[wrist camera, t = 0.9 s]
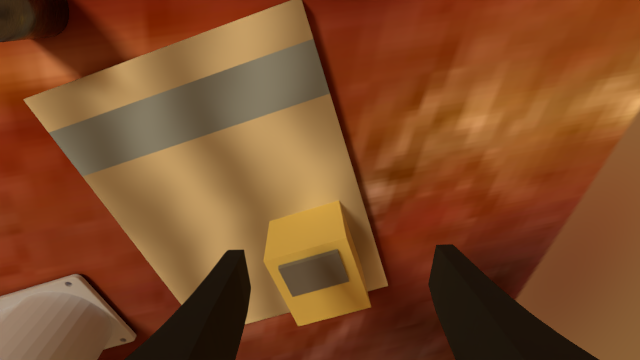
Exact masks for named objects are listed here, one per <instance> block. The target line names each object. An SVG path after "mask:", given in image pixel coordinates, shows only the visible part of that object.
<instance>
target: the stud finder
mask: <svg viewBox="0 0 640 360" xmlns="http://www.w3.org/2000/svg"><path fill="white" fill-rule="evenodd" d="M263 262H264V264H265V265H266V267H267V269H268V271H269V273H270V275H271V277H272V278H273V280H274V282H275V284H276V286H277V288H278V290H279V291H280V293H281V295H282V297H283V299H284V301H285V303H286V304H287V306H288V308H289V310H290V312H291V314H292V316H293V317H294V319H295V321H296V323H297V325H298V326H301V325H305V324H309V323H313V322H317V321H320V320H324V319H328V318H332V317H336V316H339V315H343V314H347V313H351V312H355V311H358V310H362V309H366V308H370V307H371V305H370V300H369V296H368V292H367V288H366V283H365V279H364V275H363V271H362V266H361V263H360V260H359V257H358V254H357V251H356V248H355V245H354V243H353V240H352V237H351V234H350V231H349V228H348V225H347V222H346V219H345V216H344V214H343V211H342V208H341V205H340V202H339V201H335V202H332V203H329V204H325V205H322V206H319V207H315V208H312V209H309V210H305V211H302V212H299V213H295V214H292V215H289V216H285V217H282V218H279V219H275V220H272V221H269V228H268V234H267V241H266V247H265V254H264V261H263Z"/></svg>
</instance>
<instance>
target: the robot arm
mask: <svg viewBox="0 0 640 360" xmlns="http://www.w3.org/2000/svg"><path fill="white" fill-rule="evenodd" d="M429 288H430V292H431V296H432V299H433V303H434V306H435V310H436V312H437V315H438V318H439V320H440V322H441V325H442V327H443V330H444V332H445V335H446V337H447V340H448V342H449V345H450V347H451V349H452V352H453V354H454V357H455V359H456V360H599V359H597V358H596V357H594V356H592V355H591V354H589V353H588V352H586V351H585V350H583V349H581V348H580V347H578V346H577V345H575V344H574V343H572V342H570V341H569V340H568V339H566V338H565V337H563V336H562V335H560V334H559V333H557V332H556V331H554V330H553V329H552V328H550V327H549V326H548V325H546V324H545V323H543V322H542V321H541V320H539V319H538V318H536V317H535V316H534V315H532V314H531V313H529V311H527V310H526V309H525V308H524V307H522V306H521V305H520V304H519V303H517V302H516V301H515V300H514V299H512V298H511V297H510V296H509V295H508V294H506V293H505V292H504V291H503V290H502V289H501V288H499V287H498V286H497V285H496V284H495V283H494V282H493V281H491V280H490V279H489V278H488V277H487V276H486V275H485V274H484V273H483V272H482V271H480V270H479V269H478V268H477V267H476V266H475V265H474V264H473V263H472V262H471V261H470V260H469V259H468V258H467V257H466V256H464V255H463V254H462V253H461V252H460V251H459V250H458V249H457V248H456V247H455V246H454V245H436V249H435V254H434V259H433V264H432V269H431V274H430V279H429ZM250 293H251V284H250V279H249V273H248V268H247V263H246V257H245V252H244V249H243V250H227V251H226V252H225V253H224V255H223V256H222V257H221V259H220V260H219V261H218V263H217V264H216V265H215V266H214V268H213V269H212V270H211V271H210V273H209V274H208V275H207V276H206V278H205V279H204V280H203V281H202V283H201V284H200V285H199V286H198V287H197V288H196V290H195V291H194V292H193V293H192V294H191V296H190V297H189V298H188V299H187V300H186V301H185V302H184V303H183V304H182V305H181V306H180V308H179V309H178V310H177V311H176V312H175V313H174V314H173V315H172V316H171V317H170V318H169V319H168V320H167V321H166V322H165V323H164V324H163V325H162V326H161V327H160V328H159V329H158V330H157V331H156V332H155V333H154V334H153V335H152V336H151V337H150V338H149V339H148V340H146V341H145V342H144V343H143V344H142V345H141V346H140V347H138V348H137V349H136V350H135V351H134V352H133V353H132V354H130V355H129V356H128V357H127V358H126V359H124V360H235V359H236V355H237V351H238V347H239V344H240V340H241V336H242V333H243V329H244V325H245V321H246V318H247V313H248V307H249V301H250ZM135 338H136V334H135V333H134V332H133V330H132V329H131V328H130V327H129V326H128V325H127V324H126V323H125V322H124V321H123V320H122V319H121V318H120V316H119V315H118V314H117V313H116V312H115V311H114V310H113V309H112V308H111V307H110V306H109V305H108V304H107V302H106V301H105V300H104V299H103V298H102V297H101V296H100V295H99V294H98V293H97V292H96V291H95V290H94V289H93V287H92V286H91V285H90V284H89V283H88V282H87V281H86V280H85V279H84V278H83V277H82V276H81V275H77V274H74V275H70V276H67V277H64V278H60V279H57V280H54V281H50V282H47V283H44V284H40V285H37V286H34V287H30V288H27V289H24V290H20V291H17V292H14V293H11V294H7V295H4V296H1V297H0V360H97V359H98V358H99V356H100V354H101V353H102V351H103V349H107V348H111V347H114V346H118V345H122V344H125V343H129V342H132V341H134V340H135Z"/></svg>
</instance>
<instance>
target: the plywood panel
mask: <svg viewBox="0 0 640 360" xmlns="http://www.w3.org/2000/svg"><path fill="white" fill-rule="evenodd" d="M23 100H24V101H25V102H26V104H27V105H28V106H29V108H30V109H31V110H32V111H33V113H34V114H35V115H36V117H37V118H38V119H39V121H40V122H41V123H42V124H43V126H44V127H45V128H46V130H47V131H48V132H49V134H50V135H51V136H52V137H53V139H54V140H55V141H56V143H57V144H58V145H59V146H60V148H61V149H62V150H63V152H64V153H65V154H66V156H67V157H68V158H69V159H70V161H71V162H72V163H73V165H74V166H75V167H76V169H77V170H78V171H79V172H80V174H81V175H82V176H83V178H84V179H85V180H86V182H87V183H88V184H89V185H90V187H91V188H92V189H93V191H94V192H95V193H96V195H97V196H98V197H99V198H100V200H101V201H102V202H103V204H104V205H105V206H106V208H107V209H108V210H109V211H110V213H111V214H112V215H113V217H114V218H115V219H116V220H117V222H118V223H119V224H120V226H121V227H122V228H123V230H124V231H125V232H126V233H127V235H128V236H129V237H130V239H131V240H132V241H133V243H134V244H135V245H136V246H137V248H138V249H139V250H140V252H141V253H142V254H143V256H144V257H145V258H146V259H147V261H148V262H149V263H150V265H151V266H152V267H153V269H154V270H155V271H156V272H157V274H158V275H159V276H160V278H161V279H162V280H163V282H164V283H165V284H166V285H167V287H168V288H169V289H170V291H171V292H172V293H173V294H174V296H175V297H176V298H177V300H178V301H179V302H180V304H181V305H182V304H183V303H184V302H185V301H186V300H187V299H188V298H189V297H190V296H191V294H192V293H193V292H194V291H195V290H196V288H197V287H198V286H199V285H200V284H201V283H202V281H203V280H204V279H205V278H206V276H207V275H208V274H209V273H210V271H211V270H212V269H213V268H214V266H215V265H216V264H217V263H218V261H219V260H220V259H221V257H222V256H223V255H224V253H225V252H226V251H227V250H243V249H244V252H245V257H246V263H247V268H248V273H249V279H250V284H251V293H250V301H249V307H248V313H247V318H246V321H245V324H248V323H251V322H255V321H259V320H263V319H266V318H270V317H274V316H278V315H281V314H285V313H289V312H290V310H289V308H288V306H287V304H286V303H285V301H284V299H283V297H282V295H281V293H280V291H279V290H278V288H277V286H276V284H275V282H274V280H273V278H272V277H271V275H270V273H269V271H268V269H267V267H266V265H265V264H264V262H263V261H264V254H265V247H266V241H267V234H268V228H269V221H272V220H275V219H279V218H282V217H285V216H289V215H292V214H295V213H299V212H302V211H305V210H309V209H312V208H315V207H319V206H322V205H325V204H329V203H332V202H335V201H339V202H340V205H341V208H342V211H343V214H344V216H345V219H346V222H347V225H348V228H349V231H350V234H351V237H352V240H353V243H354V245H355V248H356V251H357V254H358V257H359V260H360V263H361V266H362V271H363V275H364V279H365V283H366V288H367V291H371V290H375V289H378V288H382V287H386V286H388V283H387V280H386V277H385V273H384V270H383V267H382V263H381V260H380V257H379V253H378V250H377V247H376V244H375V240H374V237H373V234H372V230H371V227H370V224H369V221H368V217H367V214H366V211H365V207H364V204H363V201H362V197H361V194H360V191H359V188H358V184H357V181H356V178H355V174H354V171H353V168H352V164H351V161H350V158H349V155H348V151H347V148H346V145H345V141H344V138H343V135H342V132H341V128H340V125H339V122H338V118H337V115H336V112H335V108H334V105H333V102H332V99H331V95H330V92H329V89H328V85H327V82H326V79H325V75H324V72H323V69H322V66H321V62H320V59H319V56H318V52H317V49H316V46H315V43H314V39H313V36H312V33H311V29H310V26H309V23H308V19H307V16H306V13H305V10H304V6H303V3H302V0H291V1H288V2H285V3H283V4H280V5H277V6H274V7H272V8H269V9H266V10H264V11H261V12H258V13H256V14H253V15H250V16H247V17H245V18H242V19H239V20H237V21H234V22H231V23H229V24H226V25H223V26H220V27H218V28H215V29H212V30H210V31H207V32H204V33H202V34H199V35H196V36H193V37H191V38H188V39H185V40H183V41H180V42H177V43H175V44H172V45H169V46H166V47H164V48H161V49H158V50H156V51H153V52H150V53H148V54H145V55H142V56H139V57H137V58H134V59H131V60H129V61H126V62H123V63H121V64H118V65H115V66H112V67H110V68H107V69H104V70H102V71H99V72H96V73H94V74H91V75H88V76H85V77H83V78H80V79H77V80H75V81H72V82H69V83H67V84H64V85H61V86H58V87H56V88H53V89H50V90H48V91H45V92H42V93H40V94H37V95H34V96H32V97H29V98H26V99H23Z"/></svg>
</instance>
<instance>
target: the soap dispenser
mask: <svg viewBox="0 0 640 360" xmlns="http://www.w3.org/2000/svg"><path fill="white" fill-rule="evenodd" d="M68 19H69V7H68V3H67V0H0V42H7V41H16V40H26V39H36V38H46V37H52V36H56V35H58V34H59V33H61V32H62V31H63V30H64V29H65V27H66V25H67V23H68Z"/></svg>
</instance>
